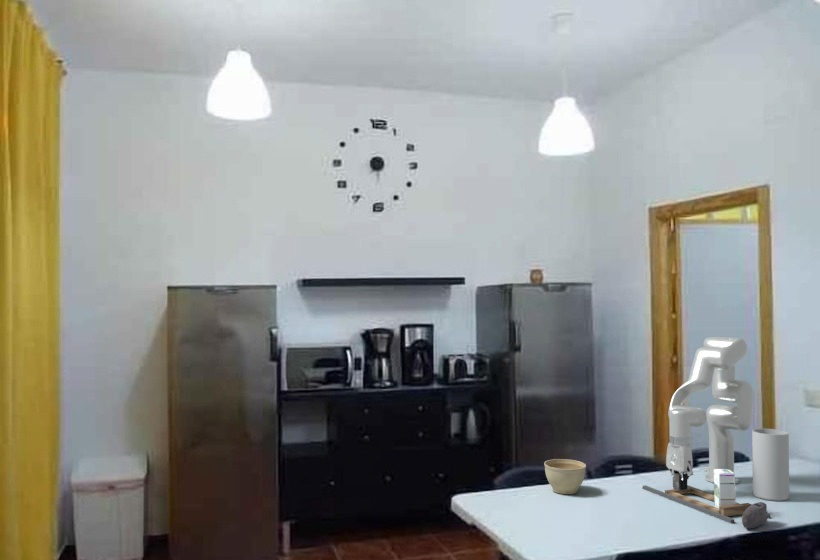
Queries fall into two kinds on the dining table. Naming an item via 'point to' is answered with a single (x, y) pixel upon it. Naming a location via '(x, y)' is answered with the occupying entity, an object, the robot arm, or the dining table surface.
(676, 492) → the frame
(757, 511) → the perforated stone tool
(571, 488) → the planter bowl
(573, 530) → the dining table surface
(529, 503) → the dining table surface
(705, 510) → the guide rails
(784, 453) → the cylinder vase
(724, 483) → the syrup box
